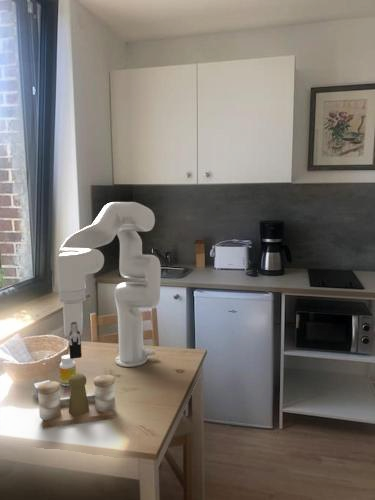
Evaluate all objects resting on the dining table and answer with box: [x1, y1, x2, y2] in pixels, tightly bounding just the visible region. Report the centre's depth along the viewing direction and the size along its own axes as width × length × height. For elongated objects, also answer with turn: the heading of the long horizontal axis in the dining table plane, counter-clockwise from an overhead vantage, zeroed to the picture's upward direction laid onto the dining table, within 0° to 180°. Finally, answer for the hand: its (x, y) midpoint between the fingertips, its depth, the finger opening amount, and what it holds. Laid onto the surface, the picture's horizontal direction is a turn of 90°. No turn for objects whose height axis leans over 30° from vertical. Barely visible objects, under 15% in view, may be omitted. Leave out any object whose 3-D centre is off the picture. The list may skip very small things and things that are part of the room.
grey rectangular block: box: [33, 379, 50, 400], centre depth 142 cm, size 5×4×4 cm
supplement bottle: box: [59, 354, 77, 387], centre depth 150 cm, size 5×5×10 cm
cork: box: [68, 373, 89, 415], centre depth 128 cm, size 6×6×11 cm
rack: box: [38, 374, 116, 429], centre depth 129 cm, size 22×10×10 cm, turn 105°
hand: (75, 351), depth 126 cm, fingers open, 9 cm apart
